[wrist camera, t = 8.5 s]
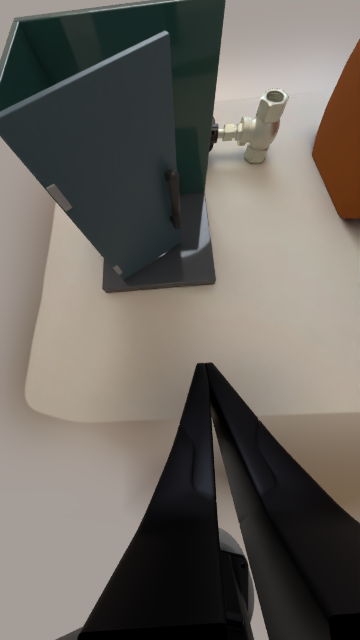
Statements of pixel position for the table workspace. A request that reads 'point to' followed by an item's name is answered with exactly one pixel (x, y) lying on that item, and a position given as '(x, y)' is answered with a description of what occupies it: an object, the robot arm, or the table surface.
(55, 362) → the table surface
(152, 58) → the shower door
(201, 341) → the table surface
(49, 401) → the table surface
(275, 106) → the valve
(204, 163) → the shower stall
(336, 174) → the alarm clock
